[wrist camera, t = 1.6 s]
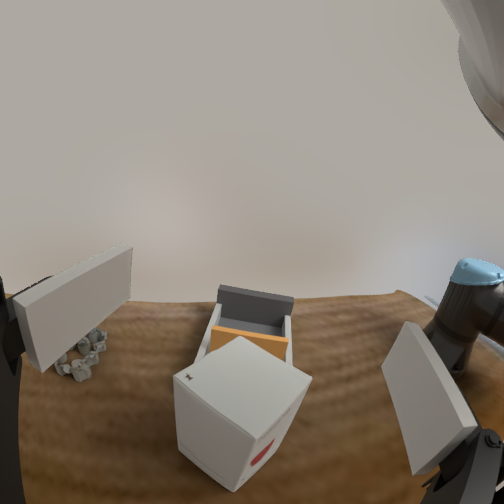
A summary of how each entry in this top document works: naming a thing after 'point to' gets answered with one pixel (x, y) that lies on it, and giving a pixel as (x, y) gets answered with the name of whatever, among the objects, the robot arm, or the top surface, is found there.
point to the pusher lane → (250, 316)
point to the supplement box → (235, 409)
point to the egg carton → (79, 366)
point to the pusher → (266, 342)
